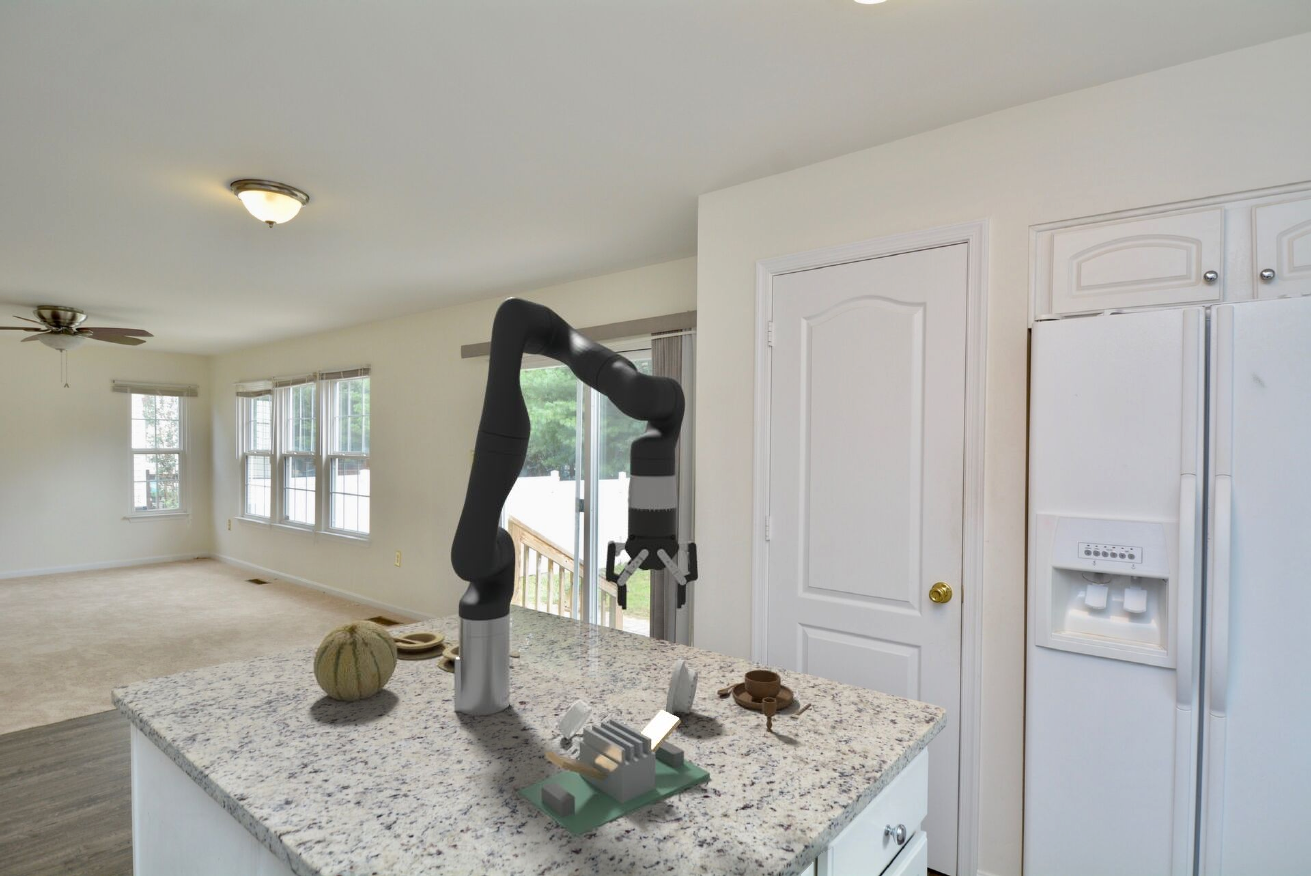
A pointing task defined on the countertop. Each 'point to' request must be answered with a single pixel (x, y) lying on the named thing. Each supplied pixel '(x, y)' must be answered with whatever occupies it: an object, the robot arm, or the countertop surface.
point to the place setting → (762, 694)
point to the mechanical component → (681, 689)
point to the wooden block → (661, 728)
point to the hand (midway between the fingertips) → (651, 608)
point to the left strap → (575, 765)
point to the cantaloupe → (355, 660)
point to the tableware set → (429, 648)
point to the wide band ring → (575, 723)
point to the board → (605, 804)
